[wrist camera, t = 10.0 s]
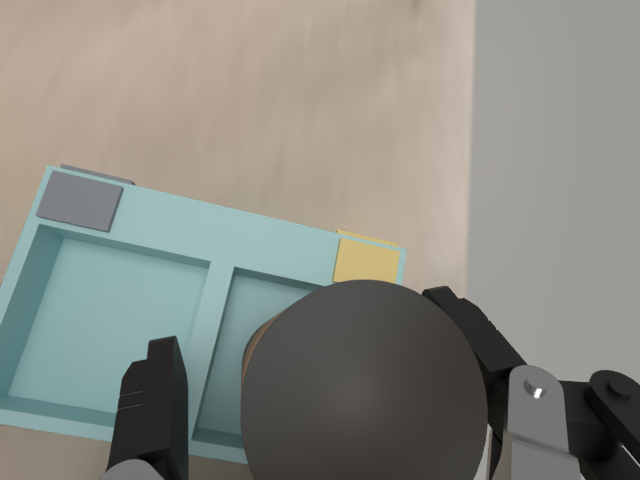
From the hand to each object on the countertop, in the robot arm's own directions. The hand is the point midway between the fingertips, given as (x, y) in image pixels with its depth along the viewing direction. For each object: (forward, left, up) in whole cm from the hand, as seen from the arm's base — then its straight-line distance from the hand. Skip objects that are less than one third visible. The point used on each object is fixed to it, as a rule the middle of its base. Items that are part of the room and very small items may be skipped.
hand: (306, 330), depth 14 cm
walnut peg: (+1, -1, -7) cm, 7 cm away
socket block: (-3, -2, -8) cm, 8 cm away
